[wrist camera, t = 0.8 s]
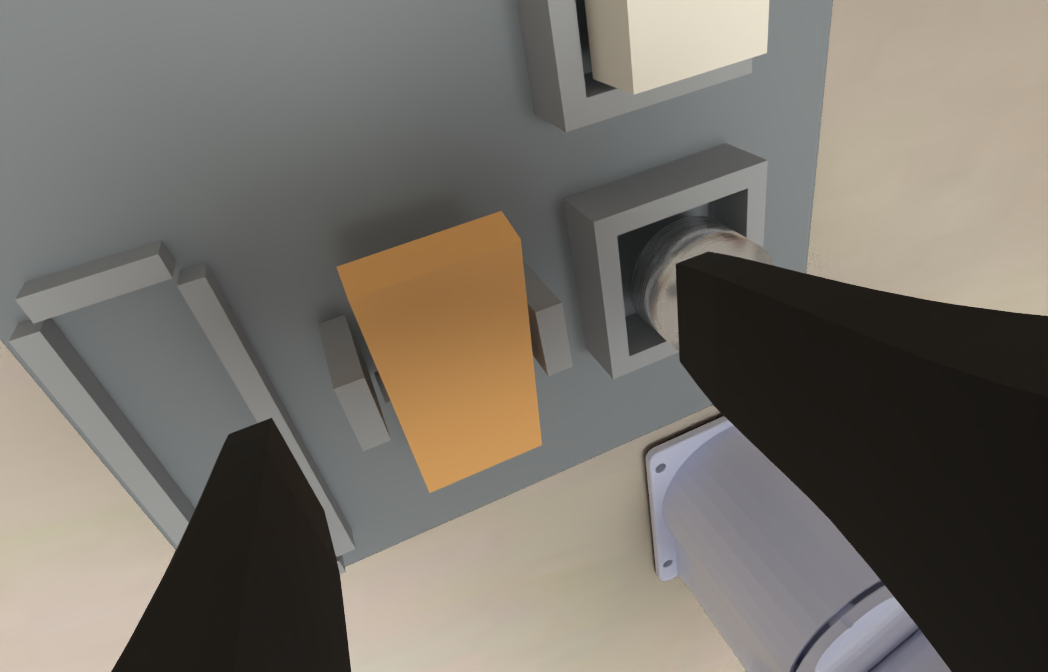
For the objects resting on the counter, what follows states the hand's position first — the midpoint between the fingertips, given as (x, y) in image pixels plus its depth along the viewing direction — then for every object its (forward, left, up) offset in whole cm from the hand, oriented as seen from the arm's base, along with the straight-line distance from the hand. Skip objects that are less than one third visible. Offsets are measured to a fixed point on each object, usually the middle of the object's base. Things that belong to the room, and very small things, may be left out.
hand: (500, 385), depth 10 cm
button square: (+4, -7, -6) cm, 10 cm away
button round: (-3, -7, -6) cm, 10 cm away
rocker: (-3, 0, -5) cm, 6 cm away
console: (-2, -2, -9) cm, 10 cm away
